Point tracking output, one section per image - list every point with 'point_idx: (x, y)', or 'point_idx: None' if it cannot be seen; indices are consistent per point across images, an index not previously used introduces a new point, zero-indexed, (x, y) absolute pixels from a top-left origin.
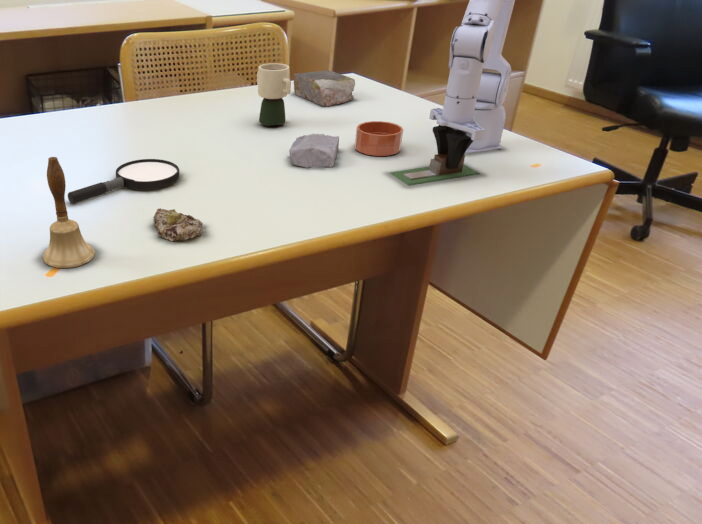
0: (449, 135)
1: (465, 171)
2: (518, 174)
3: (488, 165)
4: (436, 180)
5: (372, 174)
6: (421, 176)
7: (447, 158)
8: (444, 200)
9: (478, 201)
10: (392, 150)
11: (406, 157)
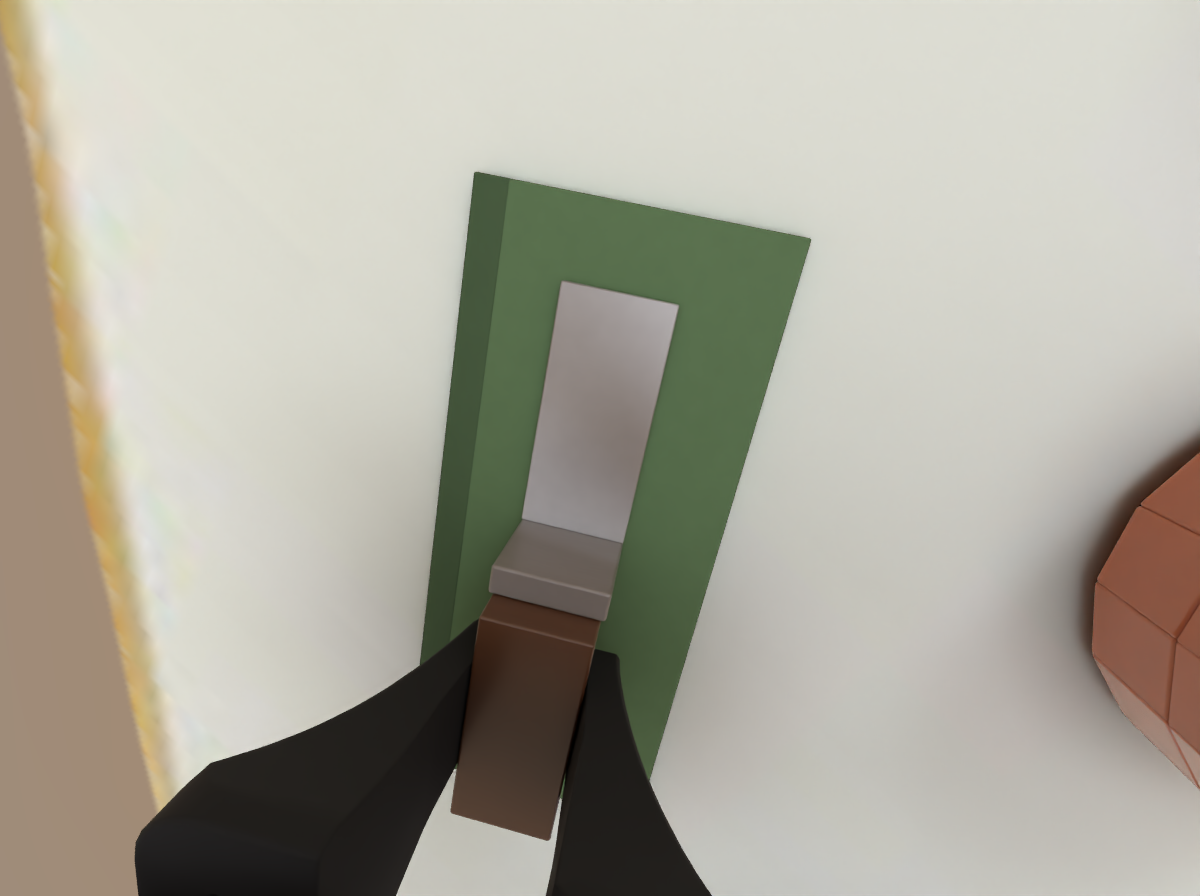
0: (253, 830)
1: None
2: None
3: (516, 890)
4: (452, 450)
5: (917, 78)
6: (550, 396)
7: (468, 662)
8: (160, 232)
9: (86, 423)
10: (1134, 594)
11: (981, 650)
